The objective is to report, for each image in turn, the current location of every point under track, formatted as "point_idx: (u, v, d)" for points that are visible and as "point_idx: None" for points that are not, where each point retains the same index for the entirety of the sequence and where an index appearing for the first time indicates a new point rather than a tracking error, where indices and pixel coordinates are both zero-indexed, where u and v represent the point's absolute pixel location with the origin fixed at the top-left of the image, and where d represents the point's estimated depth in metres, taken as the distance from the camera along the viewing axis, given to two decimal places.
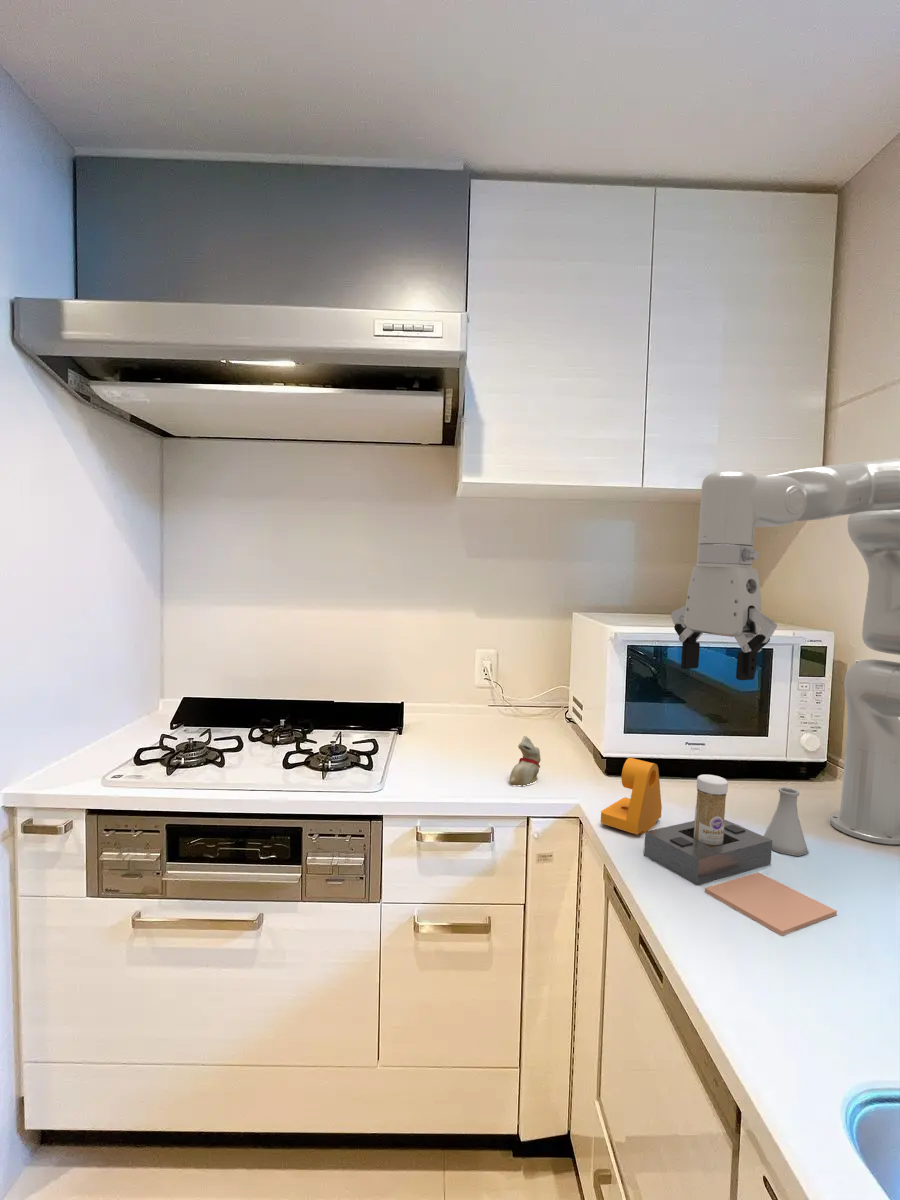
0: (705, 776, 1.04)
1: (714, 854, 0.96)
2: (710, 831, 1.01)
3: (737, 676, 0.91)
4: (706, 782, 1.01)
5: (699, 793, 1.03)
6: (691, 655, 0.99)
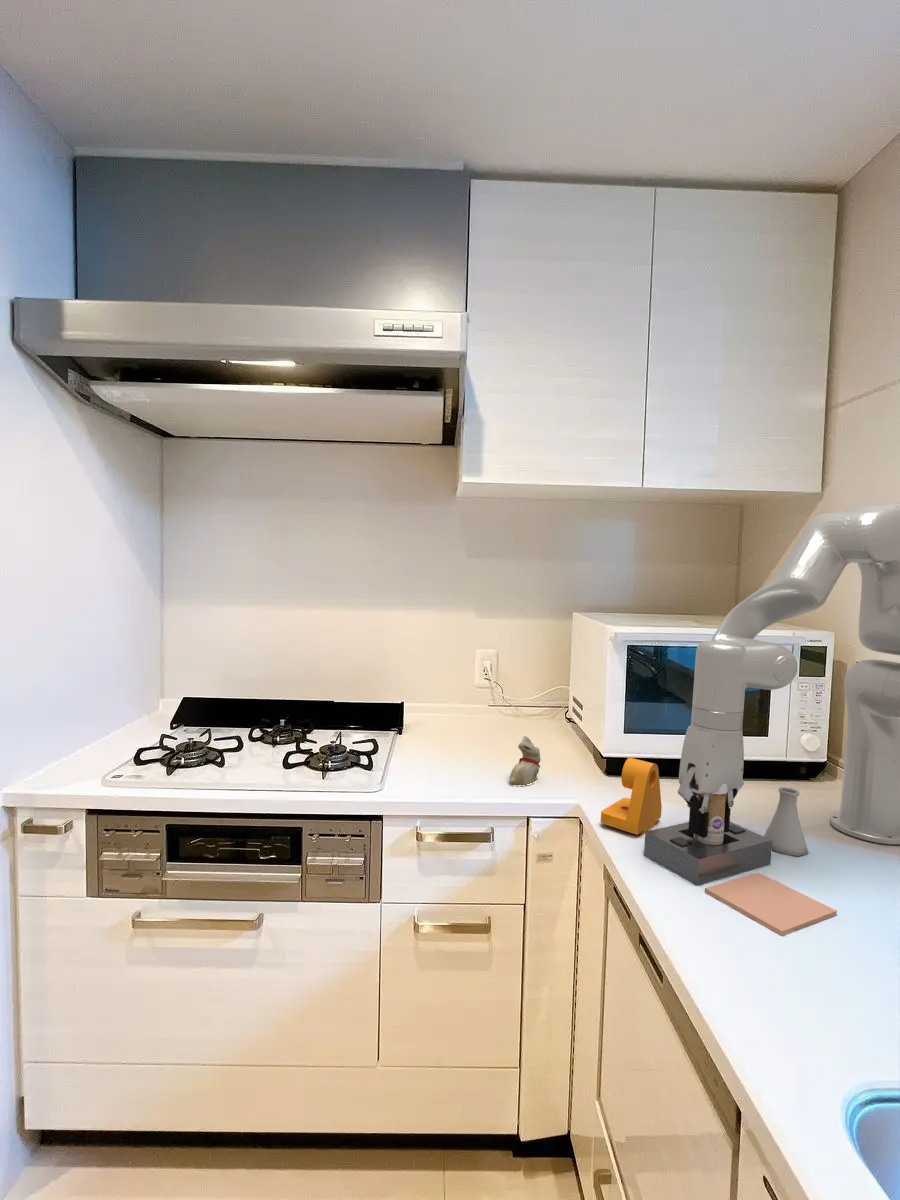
0: None
1: (714, 854, 0.96)
2: (710, 831, 1.01)
3: (726, 830, 1.03)
4: None
5: None
6: None
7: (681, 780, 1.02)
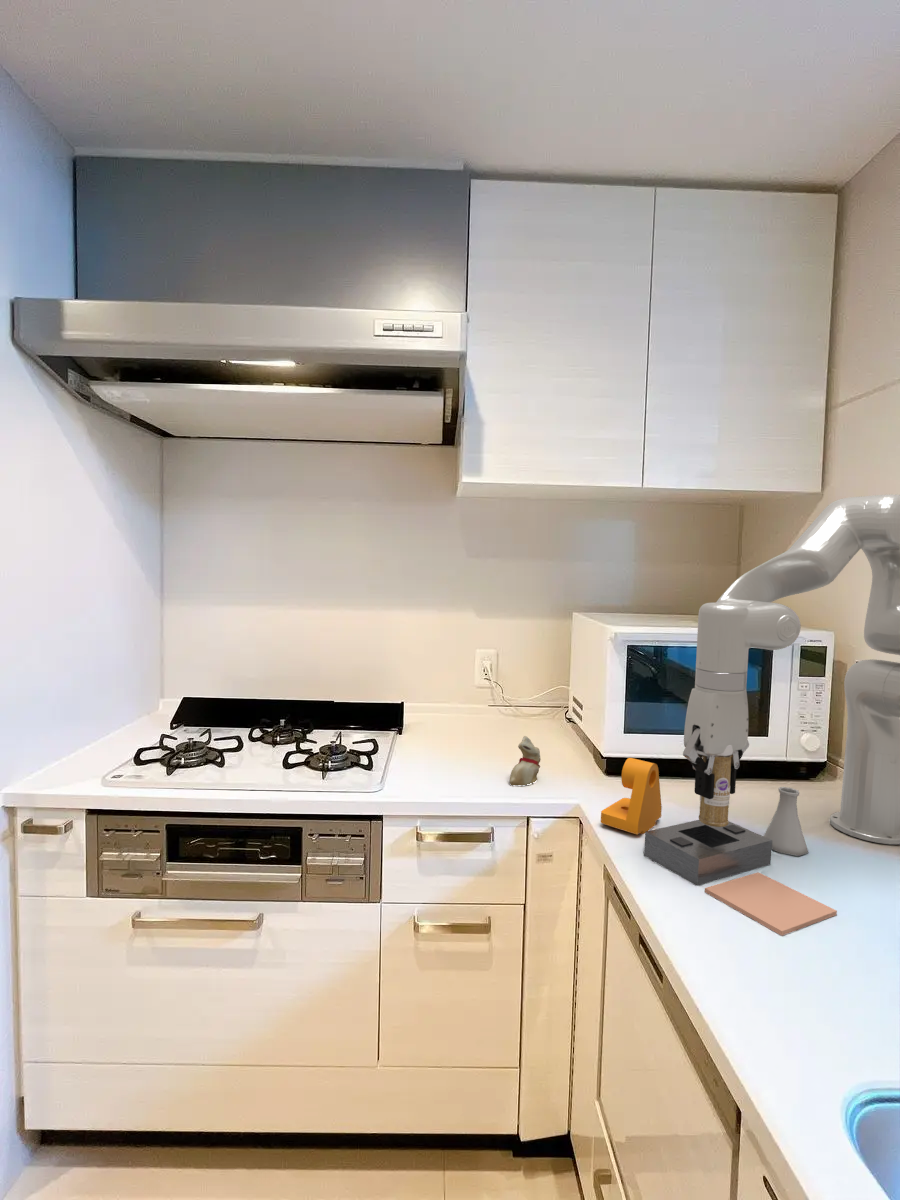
0: None
1: (714, 854, 0.96)
2: (716, 792, 1.01)
3: (732, 792, 1.03)
4: None
5: None
6: None
7: (686, 742, 1.02)
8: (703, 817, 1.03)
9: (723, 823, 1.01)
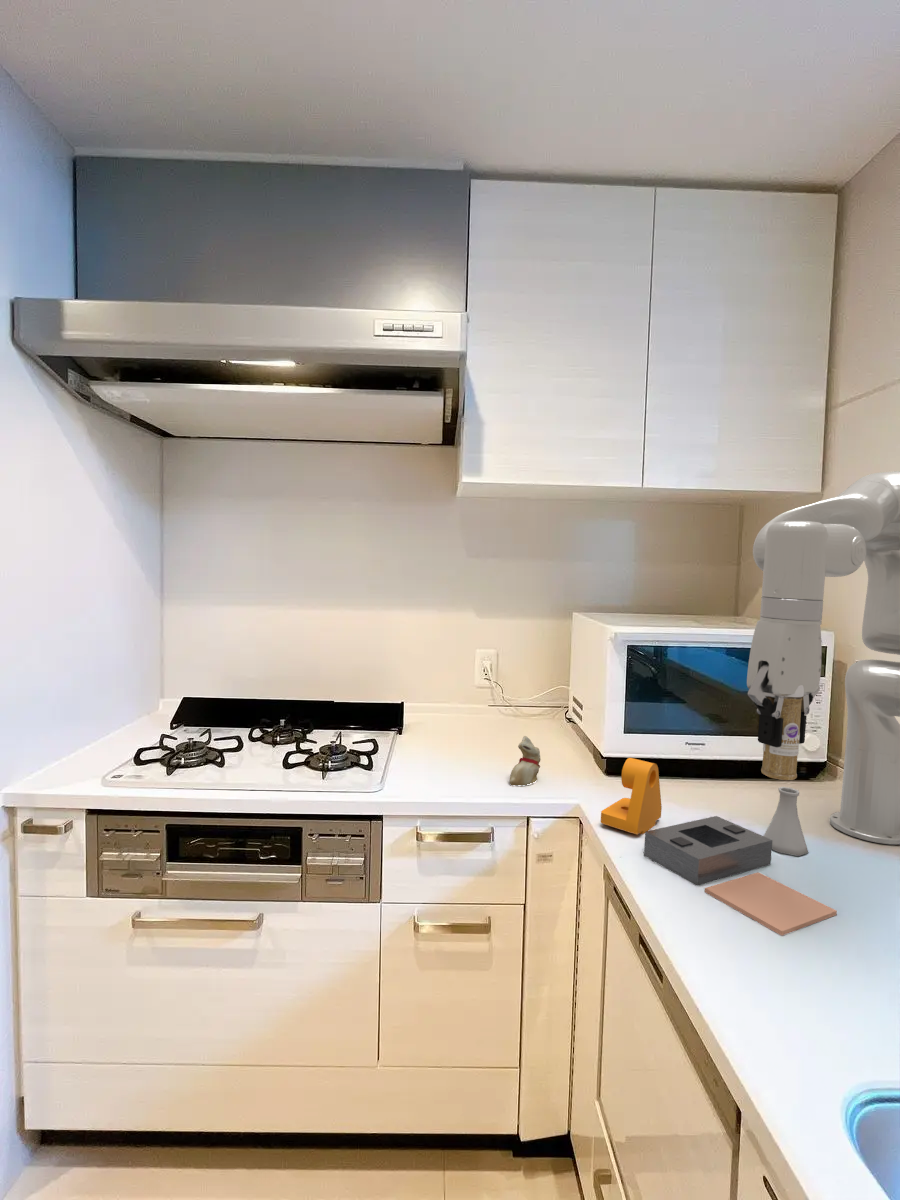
0: None
1: (714, 854, 0.96)
2: (784, 740, 0.87)
3: (801, 741, 0.89)
4: None
5: (770, 698, 0.89)
6: None
7: (750, 682, 0.88)
8: (768, 769, 0.89)
9: (791, 776, 0.88)
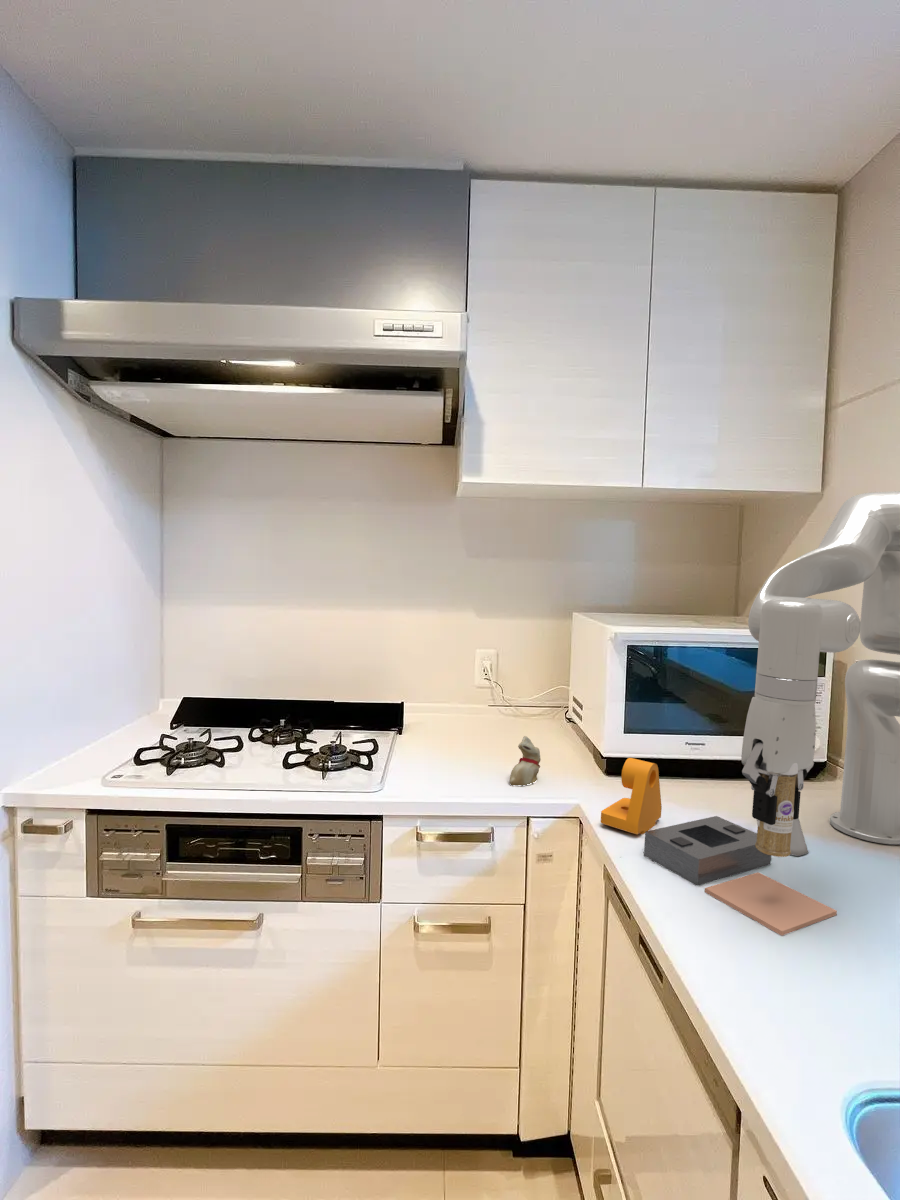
0: None
1: (714, 854, 0.96)
2: (778, 817, 0.88)
3: (795, 817, 0.90)
4: None
5: None
6: None
7: (745, 759, 0.89)
8: (762, 845, 0.89)
9: (785, 853, 0.88)
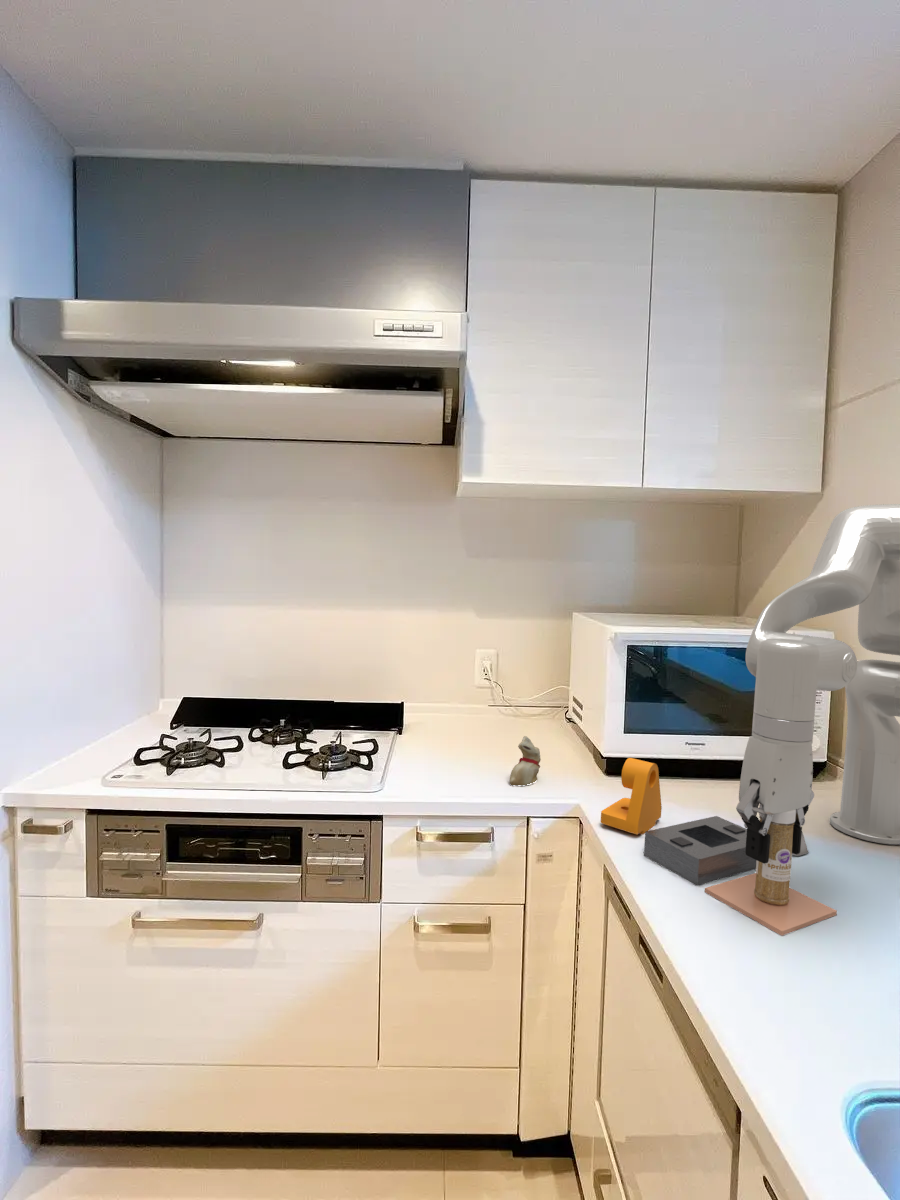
0: None
1: (714, 854, 0.96)
2: (776, 865, 0.89)
3: (797, 852, 0.91)
4: None
5: None
6: None
7: (742, 798, 0.89)
8: (760, 892, 0.90)
9: (784, 901, 0.89)
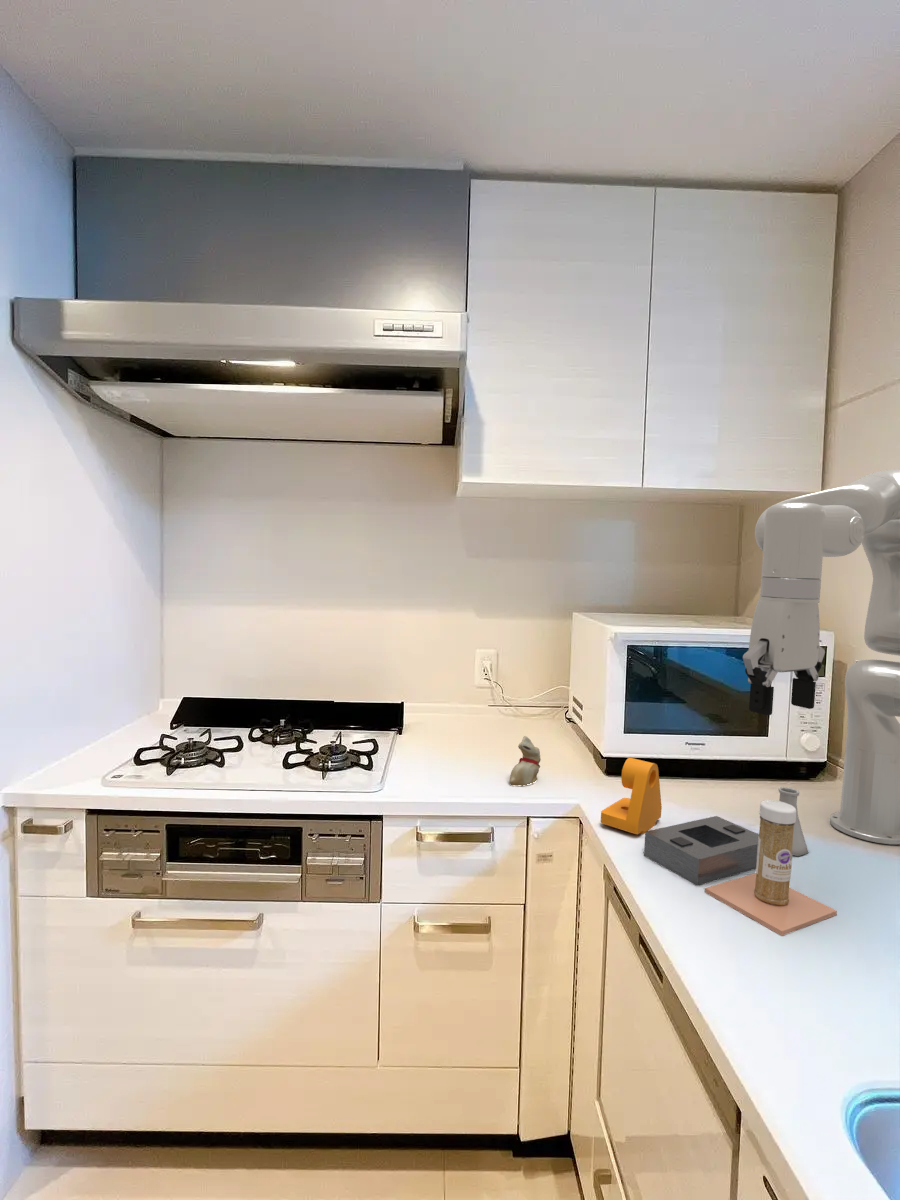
0: (769, 802, 0.91)
1: (714, 854, 0.96)
2: (776, 865, 0.89)
3: (811, 706, 0.93)
4: (771, 809, 0.89)
5: (763, 822, 0.90)
6: None
7: None
8: (760, 892, 0.90)
9: (784, 901, 0.89)
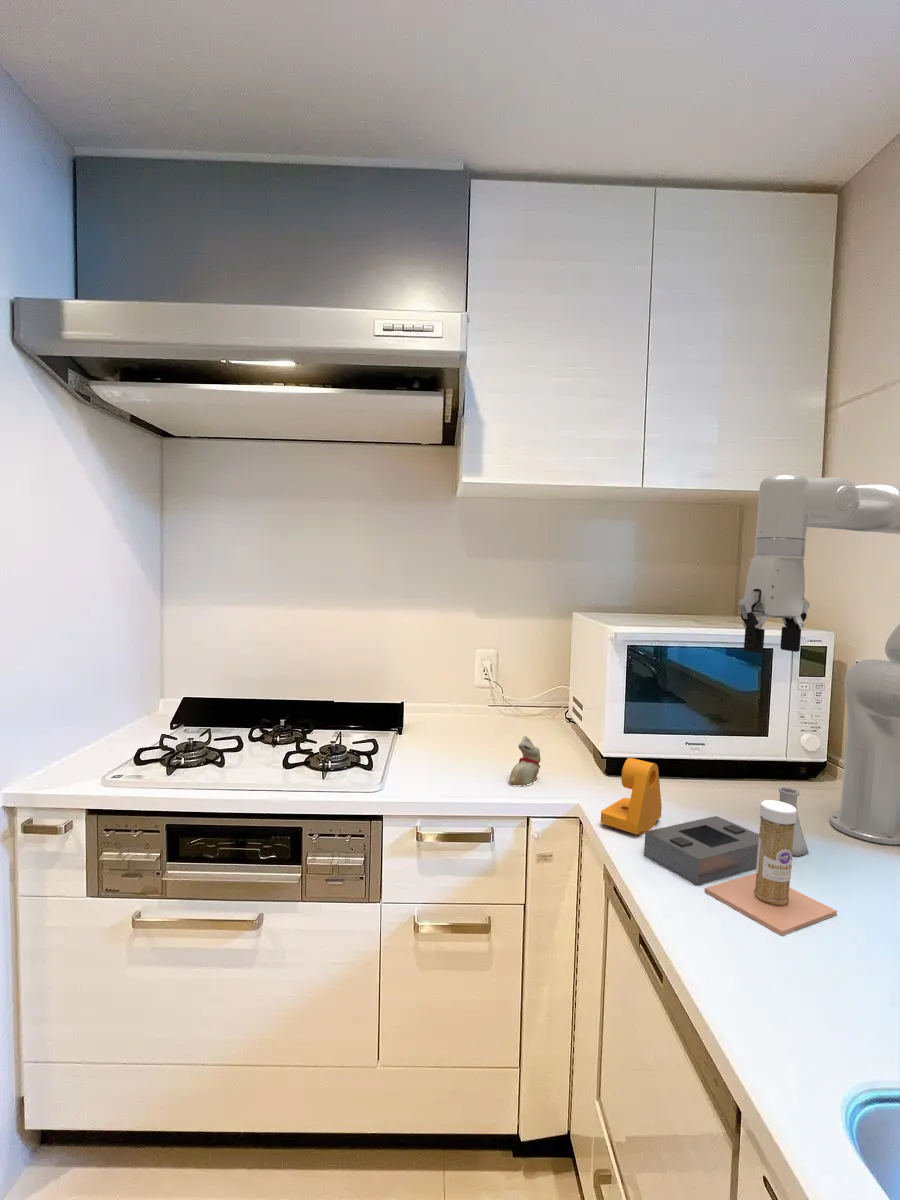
0: (769, 802, 0.91)
1: (714, 854, 0.96)
2: (776, 865, 0.89)
3: (797, 649, 1.10)
4: (772, 810, 0.89)
5: (763, 822, 0.90)
6: None
7: None
8: (760, 892, 0.90)
9: (784, 901, 0.89)
